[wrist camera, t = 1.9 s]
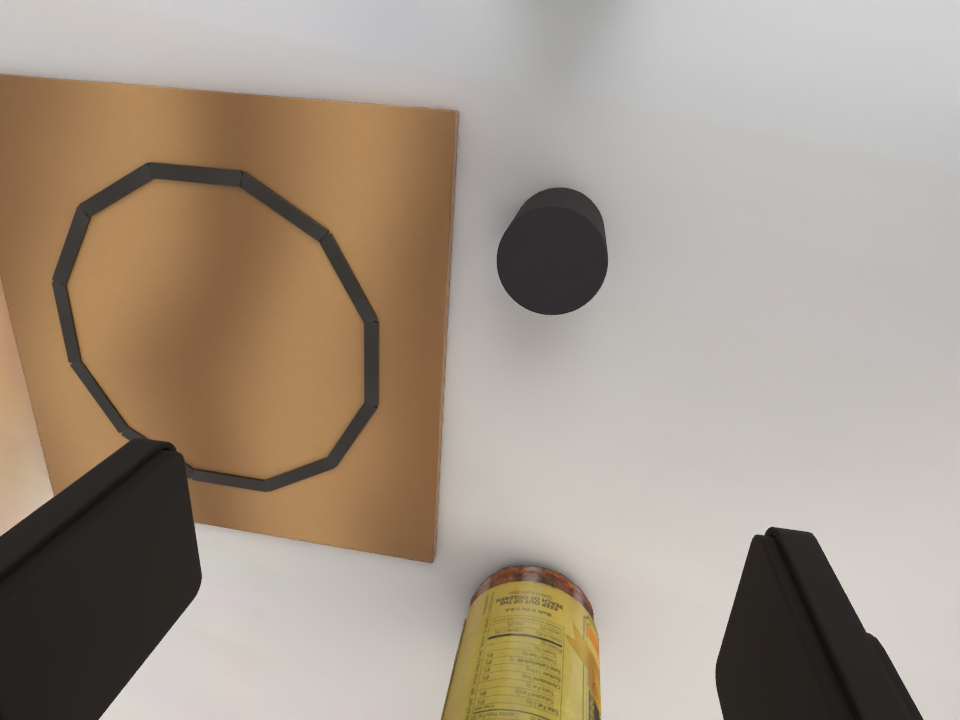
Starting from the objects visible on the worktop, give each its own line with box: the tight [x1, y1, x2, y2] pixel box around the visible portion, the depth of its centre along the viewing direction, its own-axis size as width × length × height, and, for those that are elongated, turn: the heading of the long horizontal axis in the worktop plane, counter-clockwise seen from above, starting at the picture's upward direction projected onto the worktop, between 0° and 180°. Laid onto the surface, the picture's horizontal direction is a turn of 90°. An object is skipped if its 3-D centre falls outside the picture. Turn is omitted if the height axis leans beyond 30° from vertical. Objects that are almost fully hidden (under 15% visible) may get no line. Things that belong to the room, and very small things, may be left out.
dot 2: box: [497, 188, 608, 315], centre depth 21 cm, size 3×3×4 cm
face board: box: [0, 74, 459, 563], centre depth 27 cm, size 20×20×1 cm
